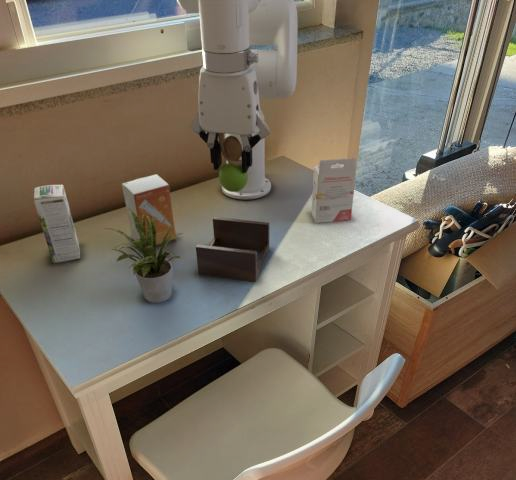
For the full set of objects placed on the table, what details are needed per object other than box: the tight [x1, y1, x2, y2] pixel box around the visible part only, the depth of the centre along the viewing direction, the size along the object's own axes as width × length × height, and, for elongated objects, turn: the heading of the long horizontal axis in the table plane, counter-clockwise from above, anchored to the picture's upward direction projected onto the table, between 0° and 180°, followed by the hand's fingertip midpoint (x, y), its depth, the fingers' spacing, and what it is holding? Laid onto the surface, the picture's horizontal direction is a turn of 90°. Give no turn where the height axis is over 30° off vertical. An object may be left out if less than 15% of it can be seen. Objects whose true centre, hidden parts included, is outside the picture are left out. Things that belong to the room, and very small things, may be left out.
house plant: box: [100, 209, 184, 304], centre depth 94 cm, size 14×14×16 cm
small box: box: [121, 173, 177, 246], centre depth 110 cm, size 8×6×13 cm
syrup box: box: [33, 184, 81, 264], centre depth 105 cm, size 6×6×14 cm
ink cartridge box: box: [311, 157, 357, 224], centre depth 116 cm, size 9×5×15 cm, turn 97°
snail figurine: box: [218, 133, 248, 192], centre depth 94 cm, size 5×6×12 cm
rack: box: [195, 216, 270, 283], centre depth 105 cm, size 12×12×6 cm
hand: (231, 167), depth 95 cm, fingers closed on snail figurine, 4 cm apart
